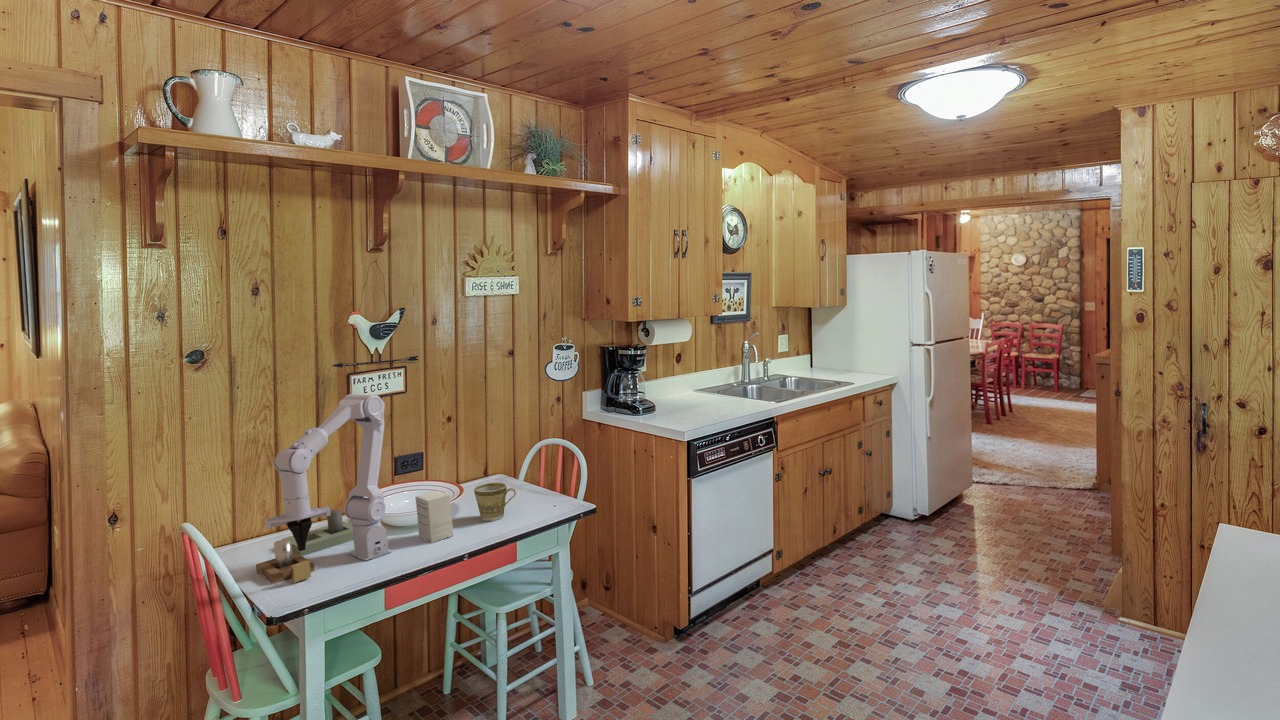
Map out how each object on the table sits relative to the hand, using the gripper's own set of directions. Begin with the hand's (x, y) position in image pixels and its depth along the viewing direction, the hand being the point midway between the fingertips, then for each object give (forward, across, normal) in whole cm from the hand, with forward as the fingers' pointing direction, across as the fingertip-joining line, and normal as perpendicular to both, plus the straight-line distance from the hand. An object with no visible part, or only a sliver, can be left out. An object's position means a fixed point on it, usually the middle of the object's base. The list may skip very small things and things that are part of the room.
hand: (301, 549), depth 176 cm
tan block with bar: (+8, +1, -5) cm, 10 cm away
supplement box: (+9, -37, -10) cm, 39 cm away
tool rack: (+9, -10, -29) cm, 32 cm away
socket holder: (+9, +3, -12) cm, 15 cm away
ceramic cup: (+9, -57, -13) cm, 60 cm away
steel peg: (+9, +3, -12) cm, 15 cm away
